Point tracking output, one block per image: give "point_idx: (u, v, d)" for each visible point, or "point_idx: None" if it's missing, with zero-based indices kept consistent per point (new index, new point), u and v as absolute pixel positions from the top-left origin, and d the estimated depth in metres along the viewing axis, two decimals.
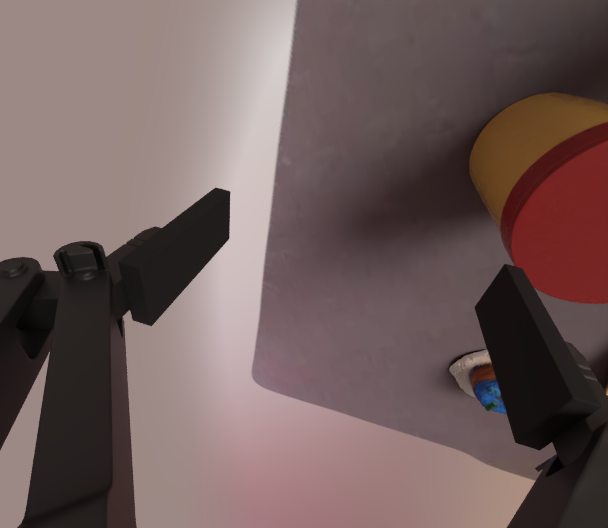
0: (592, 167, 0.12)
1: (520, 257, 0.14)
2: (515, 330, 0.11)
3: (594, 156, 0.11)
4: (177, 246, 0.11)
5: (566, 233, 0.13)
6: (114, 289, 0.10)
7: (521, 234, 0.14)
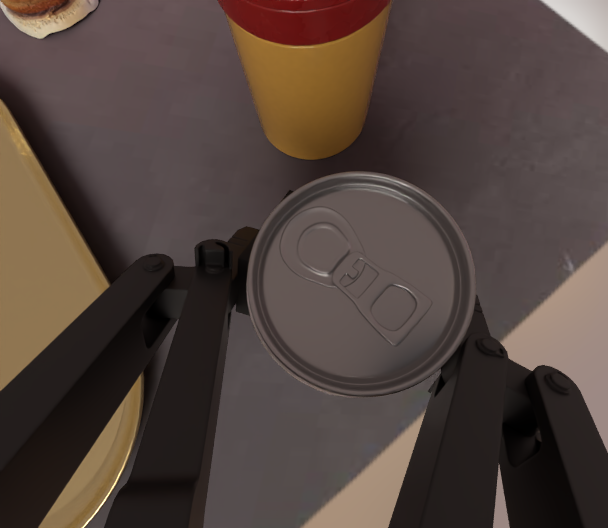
0: None
1: None
2: None
3: None
4: None
5: None
6: (231, 287, 0.11)
7: None
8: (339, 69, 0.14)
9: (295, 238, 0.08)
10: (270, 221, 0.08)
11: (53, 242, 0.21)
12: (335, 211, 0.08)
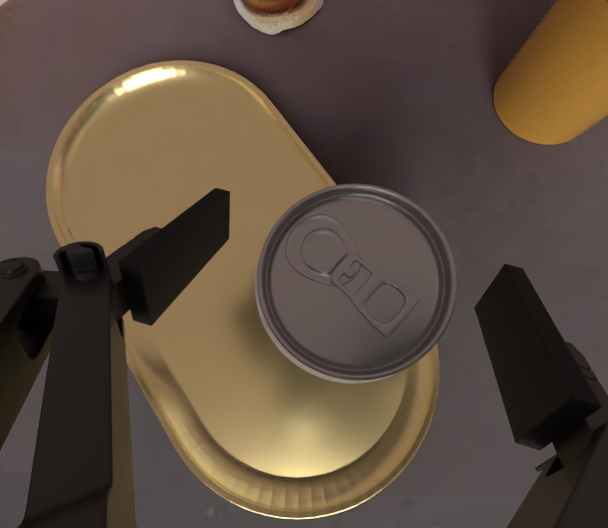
0: None
1: None
2: (515, 330, 0.11)
3: None
4: (177, 246, 0.11)
5: None
6: (114, 289, 0.10)
7: None
8: None
9: (299, 242, 0.09)
10: (277, 227, 0.09)
11: None
12: (335, 218, 0.09)
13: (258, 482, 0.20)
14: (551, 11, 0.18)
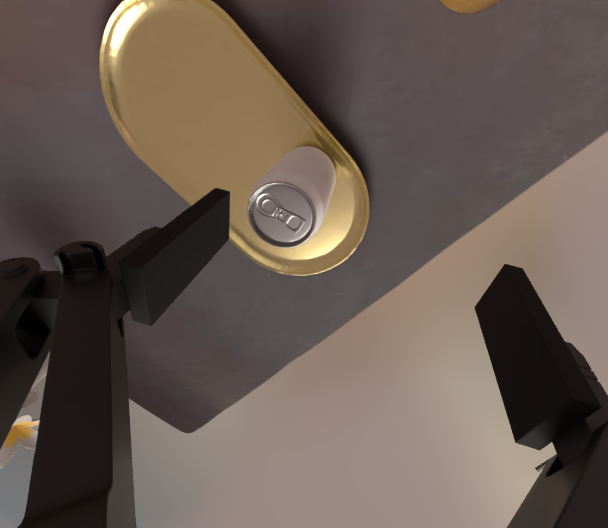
0: None
1: None
2: (515, 330, 0.11)
3: None
4: (177, 246, 0.11)
5: None
6: (114, 289, 0.10)
7: None
8: None
9: (260, 204, 0.24)
10: (250, 202, 0.24)
11: (290, 118, 0.33)
12: (270, 194, 0.24)
13: (286, 263, 0.42)
14: None
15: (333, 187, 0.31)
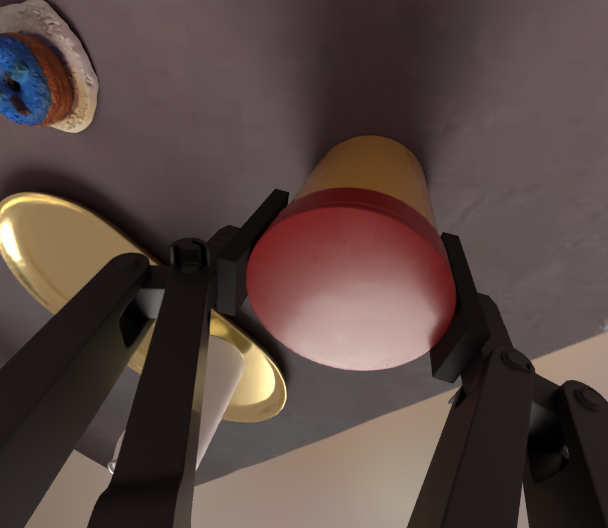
0: (432, 299, 0.11)
1: (346, 216, 0.10)
2: None
3: (444, 303, 0.11)
4: None
5: (361, 265, 0.11)
6: (210, 285, 0.11)
7: (383, 226, 0.10)
8: None
9: None
10: (109, 466, 0.23)
11: None
12: None
13: None
14: None
15: (234, 386, 0.29)
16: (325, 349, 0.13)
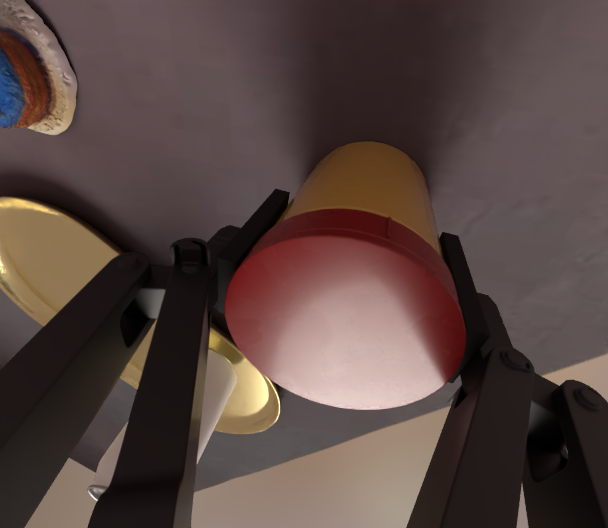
0: (325, 259, 0.09)
1: (232, 313, 0.11)
2: None
3: (331, 247, 0.08)
4: None
5: (282, 314, 0.10)
6: (210, 285, 0.11)
7: (238, 290, 0.10)
8: None
9: (102, 489, 0.21)
10: (88, 490, 0.21)
11: None
12: None
13: None
14: None
15: (225, 401, 0.28)
16: (413, 373, 0.10)
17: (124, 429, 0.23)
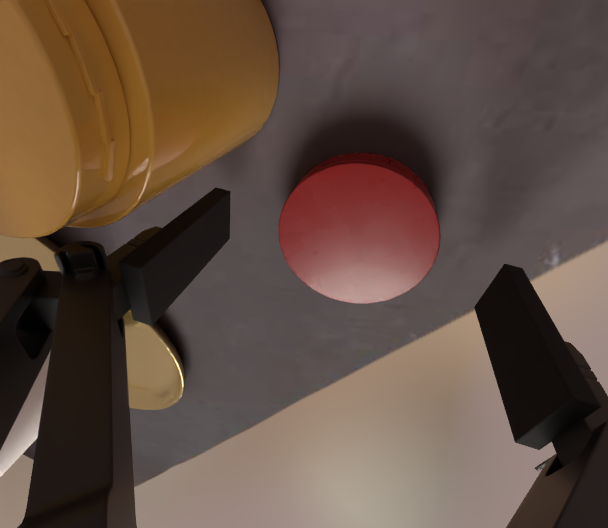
0: (351, 180, 0.14)
1: (284, 228, 0.16)
2: (515, 330, 0.11)
3: (355, 171, 0.13)
4: (177, 246, 0.11)
5: (319, 225, 0.15)
6: (114, 289, 0.10)
7: (290, 209, 0.15)
8: (156, 196, 0.10)
9: None
10: None
11: (50, 254, 0.24)
12: None
13: None
14: None
15: None
16: (407, 265, 0.15)
17: None
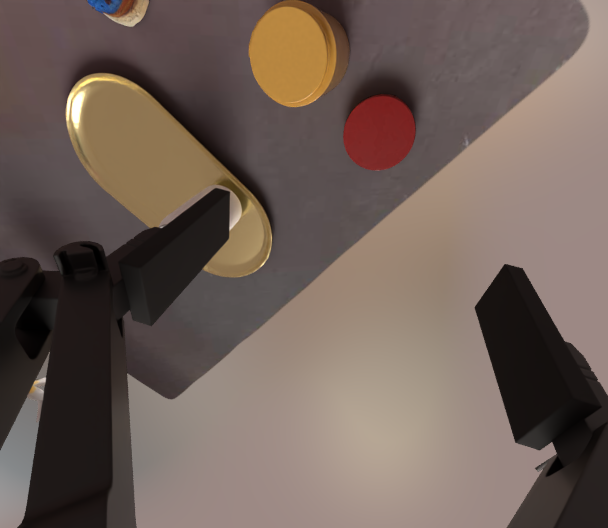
0: (378, 103, 0.33)
1: (346, 130, 0.35)
2: (515, 330, 0.11)
3: (380, 99, 0.33)
4: (177, 246, 0.11)
5: (363, 127, 0.35)
6: (114, 289, 0.10)
7: (350, 119, 0.35)
8: None
9: None
10: None
11: (205, 163, 0.43)
12: None
13: (221, 267, 0.54)
14: None
15: (234, 217, 0.42)
16: (401, 145, 0.35)
17: None
